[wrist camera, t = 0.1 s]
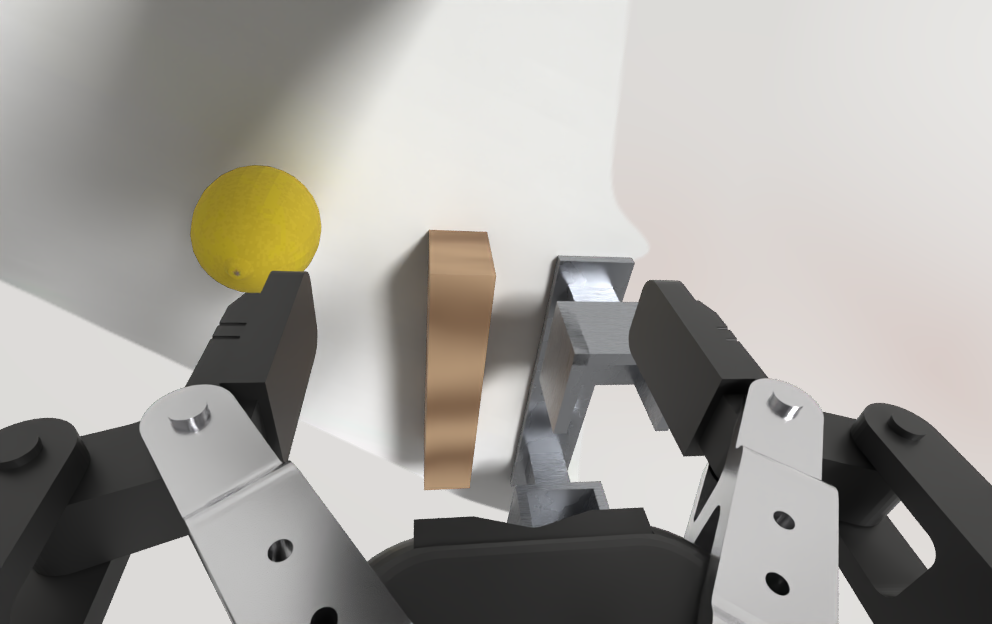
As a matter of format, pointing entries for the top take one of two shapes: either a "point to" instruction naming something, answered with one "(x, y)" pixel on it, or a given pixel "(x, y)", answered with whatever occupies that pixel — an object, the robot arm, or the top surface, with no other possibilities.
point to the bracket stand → (574, 386)
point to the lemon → (254, 227)
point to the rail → (455, 352)
